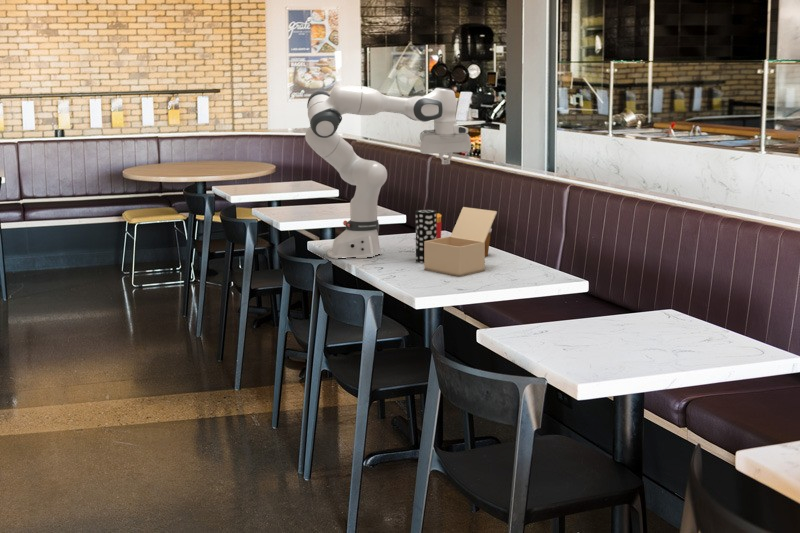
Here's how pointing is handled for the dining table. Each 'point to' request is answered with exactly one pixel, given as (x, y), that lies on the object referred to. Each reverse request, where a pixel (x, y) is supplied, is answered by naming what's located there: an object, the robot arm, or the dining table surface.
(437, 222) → the french fries
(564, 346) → the dining table surface
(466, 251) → the carton
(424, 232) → the white-spotted black cylinder
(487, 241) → the disposable coffee cup
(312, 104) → the robot arm
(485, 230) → the carton flap
